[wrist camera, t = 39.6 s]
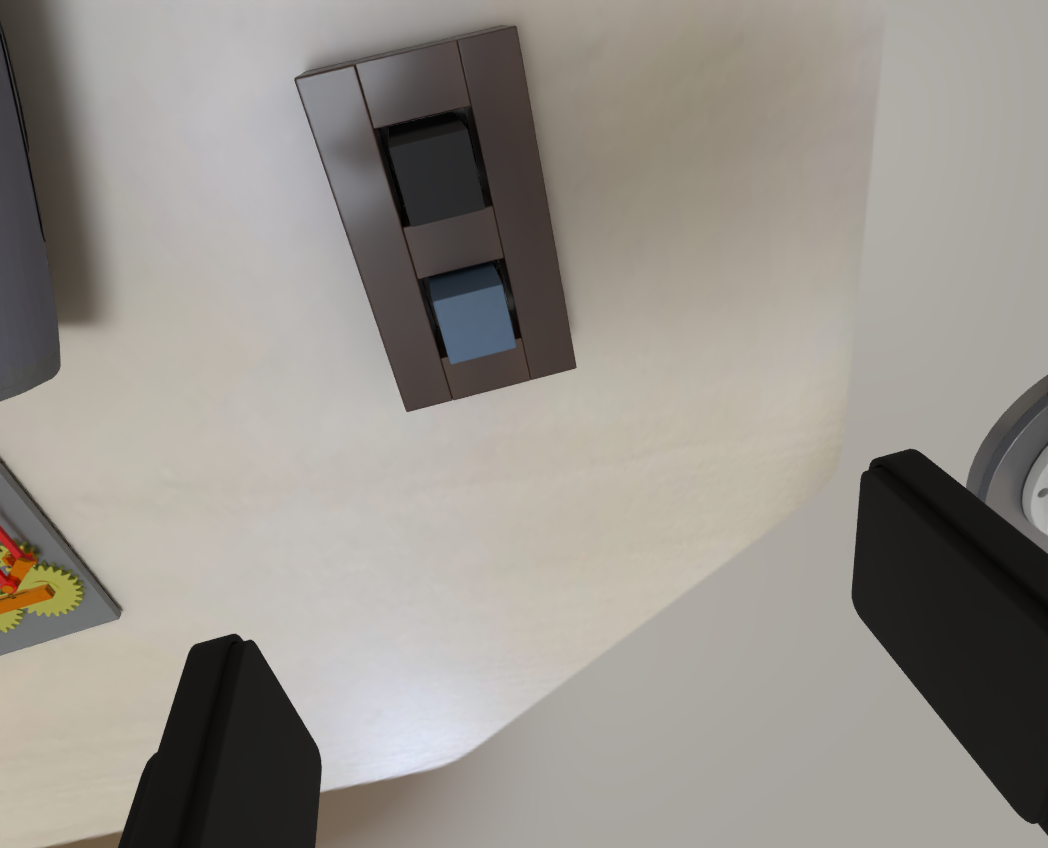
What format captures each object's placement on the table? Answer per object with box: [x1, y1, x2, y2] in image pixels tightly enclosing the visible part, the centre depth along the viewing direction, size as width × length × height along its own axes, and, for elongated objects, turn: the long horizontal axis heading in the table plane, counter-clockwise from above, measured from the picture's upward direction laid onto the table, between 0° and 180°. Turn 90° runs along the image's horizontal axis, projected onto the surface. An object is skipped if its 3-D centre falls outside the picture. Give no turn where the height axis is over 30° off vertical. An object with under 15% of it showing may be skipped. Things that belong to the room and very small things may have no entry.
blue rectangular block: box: [428, 261, 516, 364], centre depth 34 cm, size 3×3×6 cm
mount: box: [294, 26, 576, 412], centre depth 33 cm, size 9×16×4 cm, turn 11°
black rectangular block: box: [388, 112, 485, 227], centre depth 31 cm, size 3×3×6 cm
